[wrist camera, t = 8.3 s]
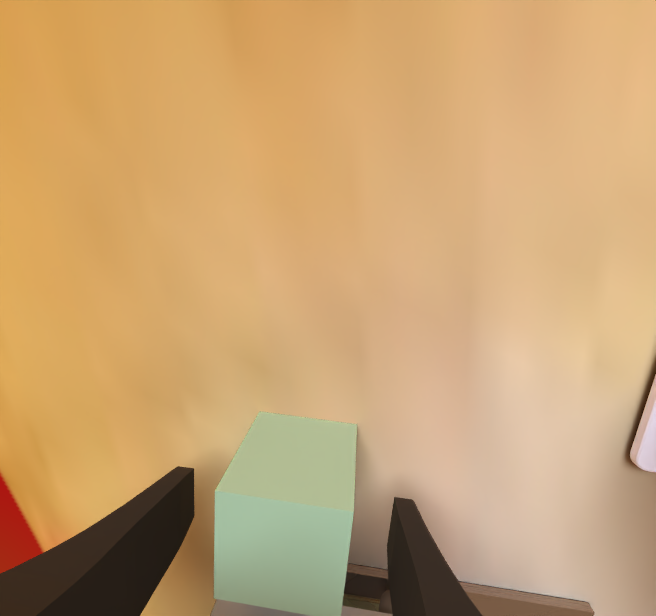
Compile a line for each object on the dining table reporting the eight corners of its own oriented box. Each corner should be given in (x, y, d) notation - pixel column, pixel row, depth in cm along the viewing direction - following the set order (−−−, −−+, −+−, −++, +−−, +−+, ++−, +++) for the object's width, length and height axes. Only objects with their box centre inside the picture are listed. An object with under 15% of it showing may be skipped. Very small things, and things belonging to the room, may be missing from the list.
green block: (357, 423, 14) (353, 511, 10) (347, 506, 15) (340, 620, 11) (260, 410, 14) (215, 490, 10) (256, 492, 15) (213, 598, 11)
